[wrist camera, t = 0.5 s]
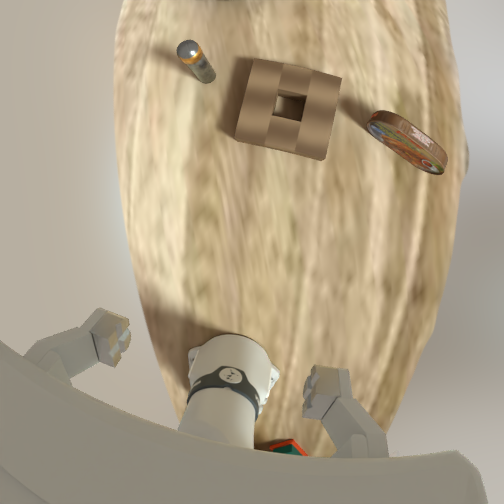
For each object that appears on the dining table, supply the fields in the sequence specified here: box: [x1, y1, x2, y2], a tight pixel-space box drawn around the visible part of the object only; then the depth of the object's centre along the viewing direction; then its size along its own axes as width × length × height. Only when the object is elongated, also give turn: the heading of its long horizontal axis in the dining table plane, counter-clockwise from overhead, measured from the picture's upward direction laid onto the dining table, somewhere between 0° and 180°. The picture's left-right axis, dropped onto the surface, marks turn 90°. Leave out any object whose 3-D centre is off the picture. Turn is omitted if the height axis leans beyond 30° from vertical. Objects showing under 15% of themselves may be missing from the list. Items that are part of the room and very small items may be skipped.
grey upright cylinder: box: [177, 40, 216, 84], centre depth 36 cm, size 3×3×12 cm
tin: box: [367, 110, 448, 175], centre depth 38 cm, size 15×3×8 cm, turn 62°
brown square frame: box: [234, 58, 342, 161], centre depth 41 cm, size 14×14×4 cm
